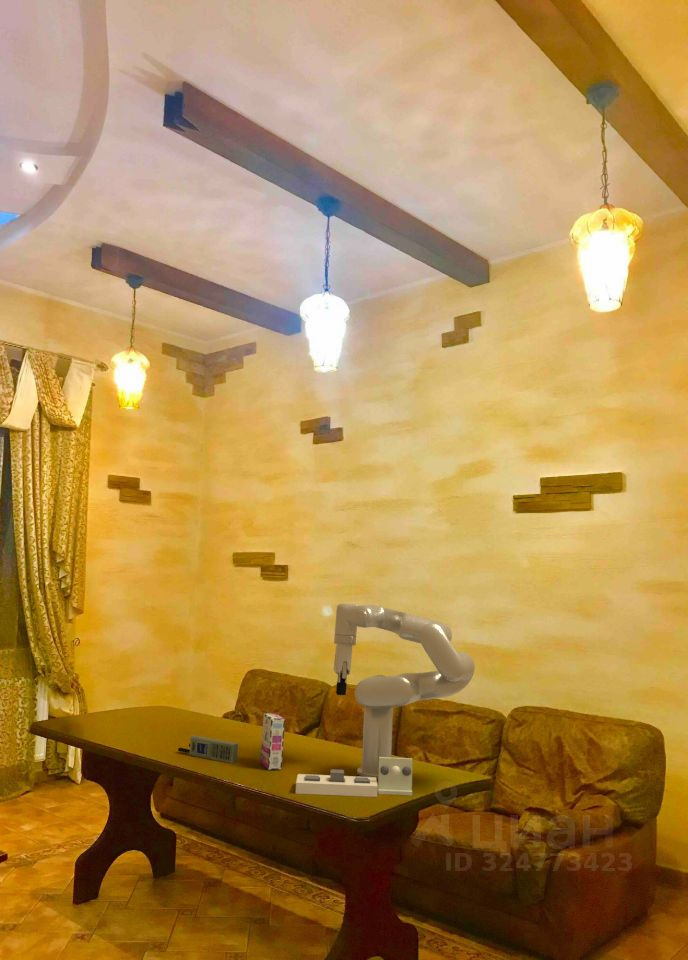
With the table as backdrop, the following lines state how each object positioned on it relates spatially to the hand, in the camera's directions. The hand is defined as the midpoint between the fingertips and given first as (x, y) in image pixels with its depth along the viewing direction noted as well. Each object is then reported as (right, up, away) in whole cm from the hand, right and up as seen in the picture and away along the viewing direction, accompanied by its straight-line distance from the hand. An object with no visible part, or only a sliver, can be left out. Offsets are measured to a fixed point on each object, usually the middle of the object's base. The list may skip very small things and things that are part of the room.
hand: (340, 694), depth 245 cm
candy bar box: (-23, -23, -4) cm, 33 cm away
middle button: (-1, -18, -30) cm, 34 cm away
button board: (-1, -20, -30) cm, 36 cm away
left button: (-9, -19, -30) cm, 37 cm away
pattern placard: (+16, -21, -30) cm, 40 cm away
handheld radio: (-47, -24, +4) cm, 53 cm away
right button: (+6, -20, -30) cm, 37 cm away
